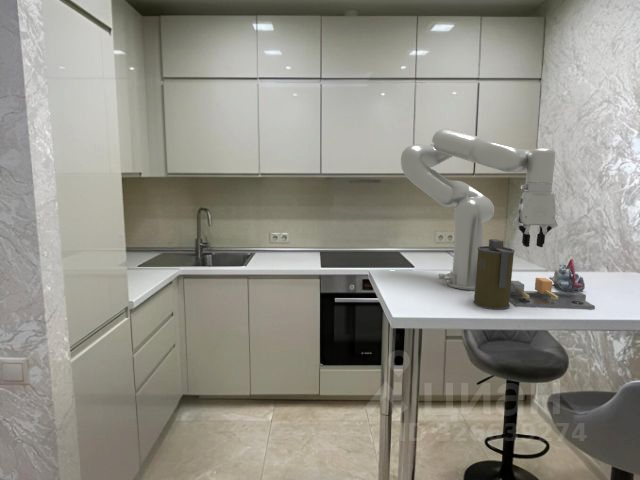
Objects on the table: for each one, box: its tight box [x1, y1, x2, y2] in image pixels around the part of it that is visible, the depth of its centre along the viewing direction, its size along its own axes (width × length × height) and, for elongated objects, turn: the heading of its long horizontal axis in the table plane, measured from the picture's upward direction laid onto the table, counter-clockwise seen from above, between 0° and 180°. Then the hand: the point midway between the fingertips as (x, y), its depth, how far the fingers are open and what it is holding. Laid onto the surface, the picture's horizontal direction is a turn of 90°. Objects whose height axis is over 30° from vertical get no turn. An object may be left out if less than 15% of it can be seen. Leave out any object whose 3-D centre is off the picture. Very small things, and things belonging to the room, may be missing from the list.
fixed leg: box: [510, 280, 530, 300], centre depth 135 cm, size 3×12×4 cm, turn 176°
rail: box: [510, 290, 587, 301], centre depth 138 cm, size 24×2×2 cm, turn 86°
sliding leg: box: [534, 277, 559, 301], centre depth 134 cm, size 3×12×5 cm, turn 176°
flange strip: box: [509, 298, 596, 310], centre depth 132 cm, size 23×6×1 cm, turn 86°
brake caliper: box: [548, 258, 586, 293], centre depth 150 cm, size 11×11×12 cm
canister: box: [473, 238, 515, 311], centre depth 129 cm, size 11×10×20 cm
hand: (532, 245), depth 136 cm, fingers open, 3 cm apart
